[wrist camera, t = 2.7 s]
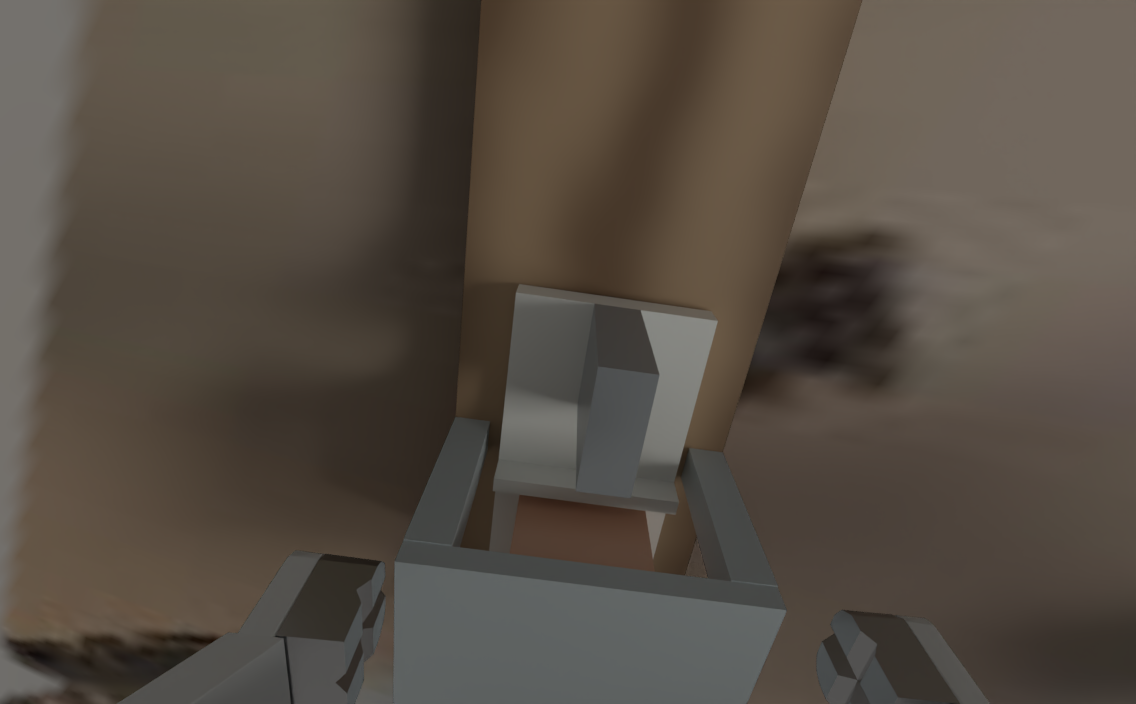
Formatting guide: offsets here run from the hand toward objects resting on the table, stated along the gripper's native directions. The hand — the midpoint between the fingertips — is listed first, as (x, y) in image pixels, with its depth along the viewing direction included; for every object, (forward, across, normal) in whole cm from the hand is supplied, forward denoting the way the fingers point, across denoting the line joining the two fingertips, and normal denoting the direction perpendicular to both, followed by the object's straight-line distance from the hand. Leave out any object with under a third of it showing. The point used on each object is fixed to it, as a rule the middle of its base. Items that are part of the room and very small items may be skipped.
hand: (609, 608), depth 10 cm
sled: (+12, 0, +8) cm, 14 cm away
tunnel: (+12, -1, +8) cm, 14 cm away
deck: (+15, -1, +7) cm, 16 cm away
